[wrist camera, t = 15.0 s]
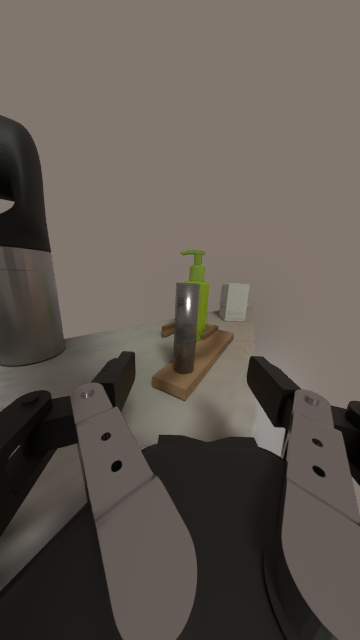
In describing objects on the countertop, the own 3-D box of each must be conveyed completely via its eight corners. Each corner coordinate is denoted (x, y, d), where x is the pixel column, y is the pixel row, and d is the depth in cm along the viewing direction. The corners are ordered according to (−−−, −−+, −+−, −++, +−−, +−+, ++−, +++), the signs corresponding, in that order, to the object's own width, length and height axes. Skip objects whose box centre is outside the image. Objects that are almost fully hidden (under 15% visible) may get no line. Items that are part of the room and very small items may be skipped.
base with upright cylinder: (103, 364, 27) (96, 278, 24) (180, 327, 48) (182, 279, 45) (185, 400, 20) (192, 285, 17) (233, 338, 41) (240, 282, 38)
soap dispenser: (180, 330, 46) (184, 252, 41) (205, 333, 44) (212, 252, 39) (174, 338, 40) (177, 248, 35) (203, 341, 39) (211, 248, 33)
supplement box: (245, 321, 58) (250, 284, 55) (224, 321, 58) (228, 283, 54) (236, 316, 65) (241, 283, 62) (218, 316, 65) (221, 282, 61)
